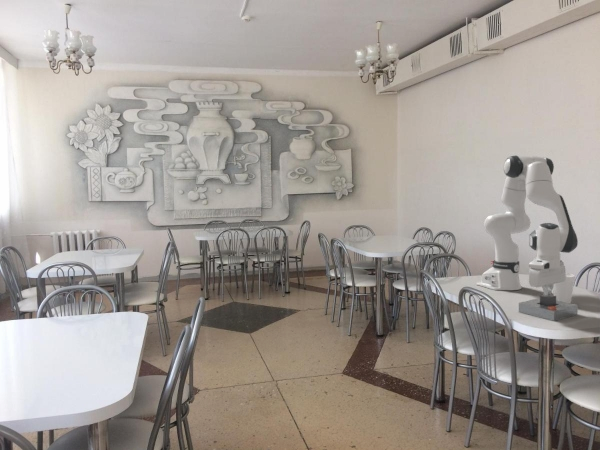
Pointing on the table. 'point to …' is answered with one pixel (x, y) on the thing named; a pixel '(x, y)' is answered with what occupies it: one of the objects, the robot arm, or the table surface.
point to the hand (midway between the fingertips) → (547, 294)
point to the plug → (548, 300)
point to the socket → (548, 309)
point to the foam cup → (564, 289)
